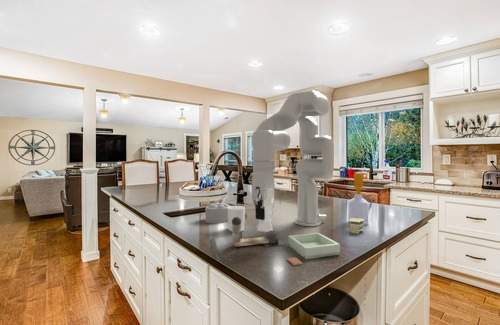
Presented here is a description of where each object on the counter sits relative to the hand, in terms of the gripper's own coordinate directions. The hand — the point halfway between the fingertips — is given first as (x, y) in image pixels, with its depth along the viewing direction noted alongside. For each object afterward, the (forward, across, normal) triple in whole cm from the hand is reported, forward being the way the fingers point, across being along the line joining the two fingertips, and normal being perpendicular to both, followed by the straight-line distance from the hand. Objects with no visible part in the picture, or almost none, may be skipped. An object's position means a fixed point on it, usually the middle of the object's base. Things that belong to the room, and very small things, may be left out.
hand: (264, 216), depth 89 cm
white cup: (+13, -15, -21) cm, 29 cm away
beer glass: (+5, 0, 0) cm, 5 cm away
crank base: (+12, -2, +5) cm, 13 cm away
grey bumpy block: (+13, -24, -37) cm, 46 cm away
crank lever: (+12, -3, -5) cm, 13 cm away
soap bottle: (+14, -53, +26) cm, 61 cm away
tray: (+12, -8, +15) cm, 21 cm away
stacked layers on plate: (+14, -38, +27) cm, 48 cm away
